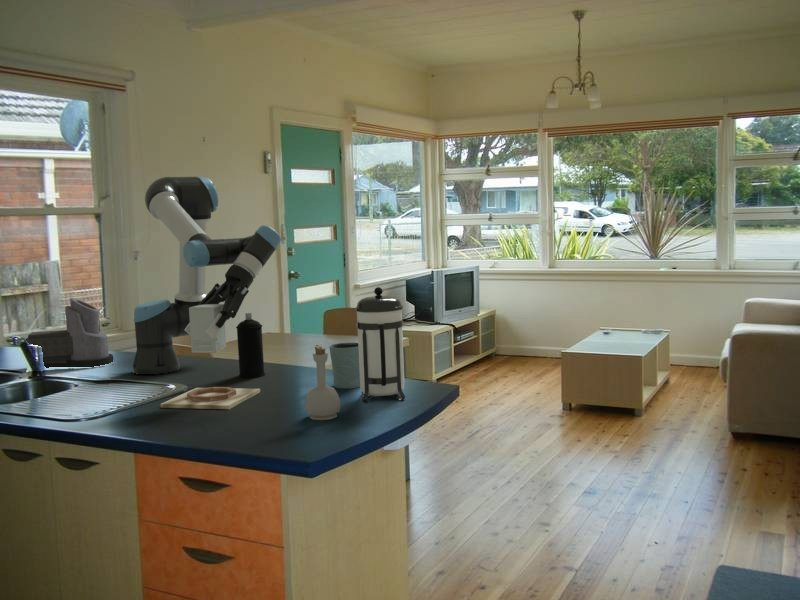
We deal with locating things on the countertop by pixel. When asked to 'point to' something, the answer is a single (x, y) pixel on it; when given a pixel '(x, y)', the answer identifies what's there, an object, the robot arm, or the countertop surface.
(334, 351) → the teal cup
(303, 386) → the countertop surface
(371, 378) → the coffee press
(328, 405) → the potion bottle
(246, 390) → the collar board
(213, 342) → the supplement box
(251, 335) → the aerosol can
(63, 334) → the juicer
